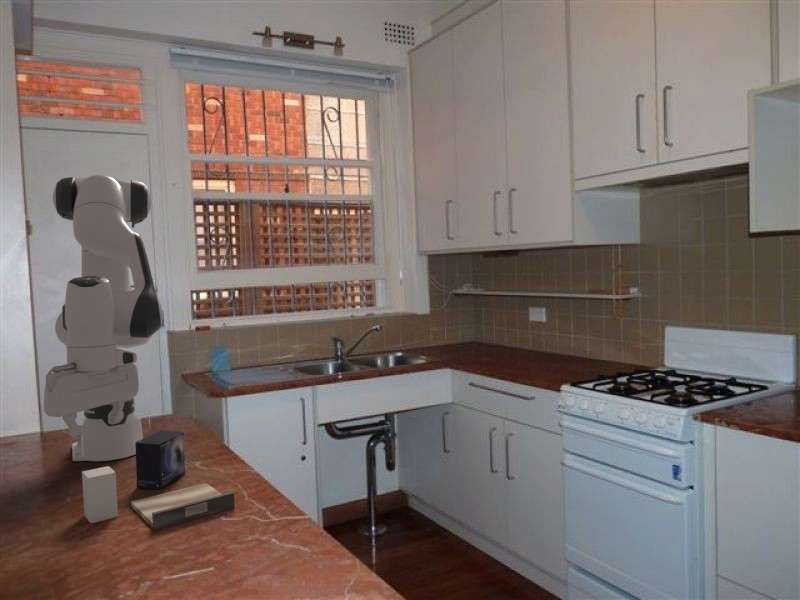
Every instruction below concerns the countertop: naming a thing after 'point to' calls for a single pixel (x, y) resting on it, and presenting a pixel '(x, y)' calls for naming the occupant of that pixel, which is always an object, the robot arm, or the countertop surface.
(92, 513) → the carton
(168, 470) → the small box
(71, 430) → the robot arm
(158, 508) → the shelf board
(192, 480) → the countertop surface
